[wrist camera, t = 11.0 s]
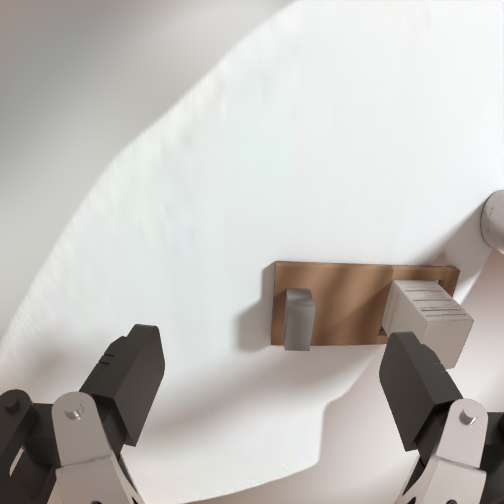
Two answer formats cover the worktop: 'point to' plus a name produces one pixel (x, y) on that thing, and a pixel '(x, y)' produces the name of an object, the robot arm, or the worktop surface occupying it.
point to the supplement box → (428, 317)
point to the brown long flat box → (339, 301)
